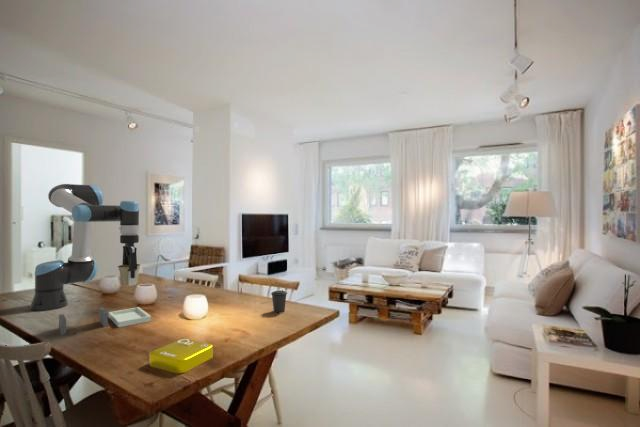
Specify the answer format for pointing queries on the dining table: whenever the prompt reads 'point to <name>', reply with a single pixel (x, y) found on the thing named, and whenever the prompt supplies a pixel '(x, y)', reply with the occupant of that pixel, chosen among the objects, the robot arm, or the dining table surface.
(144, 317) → the tray
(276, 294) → the coffee cup
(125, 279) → the flower pot
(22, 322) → the dining table surface
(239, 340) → the dining table surface
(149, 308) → the dining table surface
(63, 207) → the robot arm
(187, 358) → the element tile
